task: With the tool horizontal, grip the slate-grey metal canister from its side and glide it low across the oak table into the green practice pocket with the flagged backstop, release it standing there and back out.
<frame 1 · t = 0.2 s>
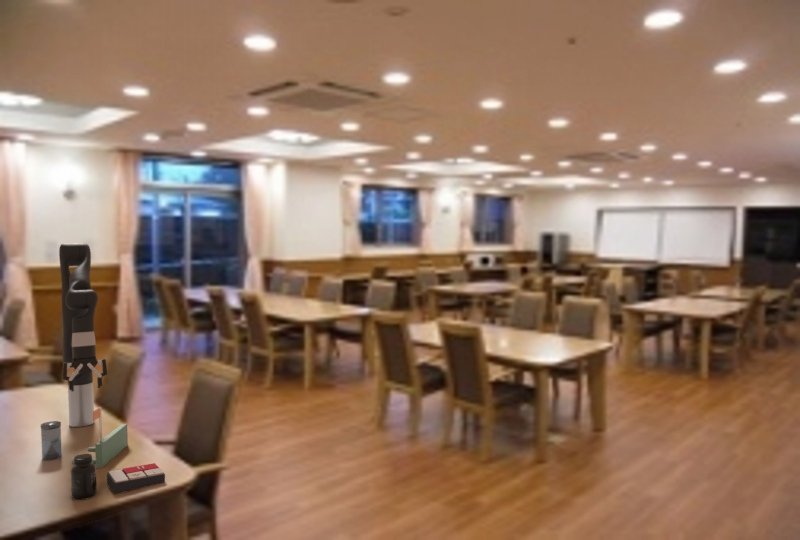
hand: (85, 389, 221), 22 cm above the table, tool pointing down, fingers open, 8 cm apart
supplement bottle: (84, 495, 184), on the table
slate canister: (52, 457, 215), on the table
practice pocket: (95, 456, 216), on the table
calculator: (136, 484, 193), on the table
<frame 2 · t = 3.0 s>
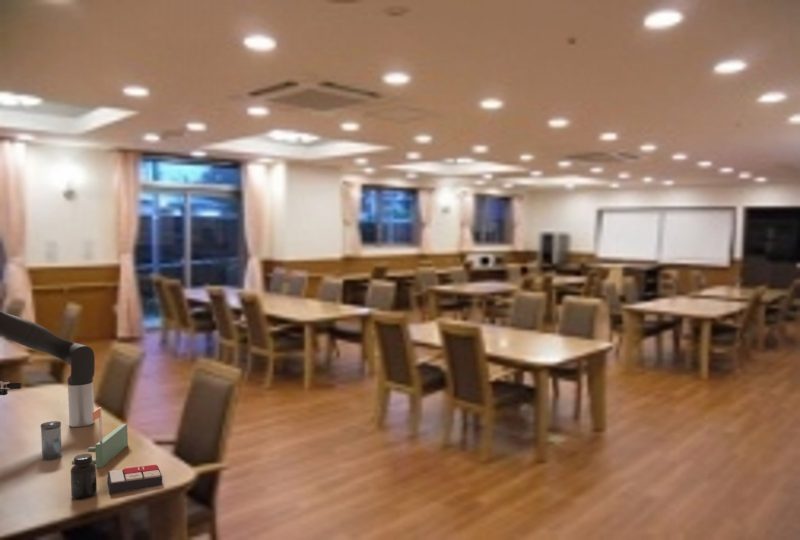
hand: (14, 388, 213), 25 cm above the table, tool horizontal, fingers open, 8 cm apart
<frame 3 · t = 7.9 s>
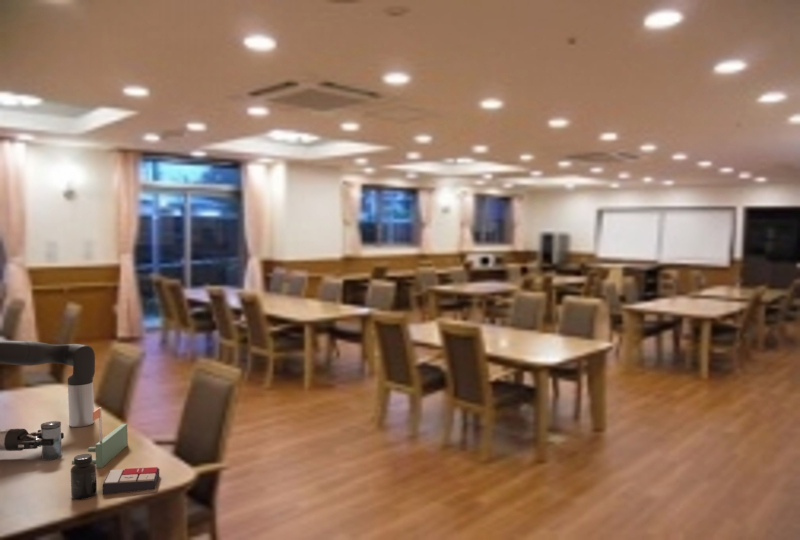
hand: (58, 438, 215), 7 cm above the table, tool horizontal, fingers closed on slate canister, 6 cm apart
slate canister: (52, 457, 215), on the table, touching gripper
calculator: (132, 486, 192), on the table
everything else where it was.
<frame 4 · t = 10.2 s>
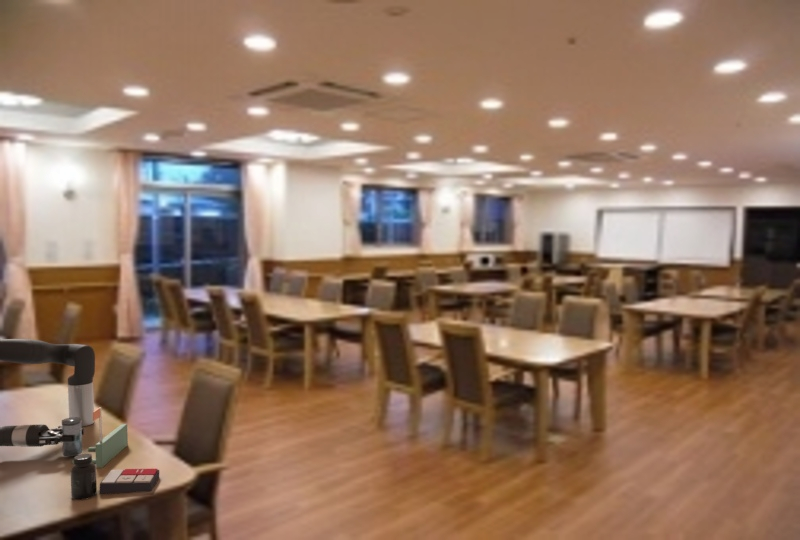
hand: (79, 434, 215), 8 cm above the table, tool horizontal, fingers closed on slate canister, 6 cm apart
slate canister: (72, 453, 216), point 1 cm above the table, touching gripper
when the fingers open (7 cm above the table, at t = 12.5 s): slate canister stays where it is, on the table.
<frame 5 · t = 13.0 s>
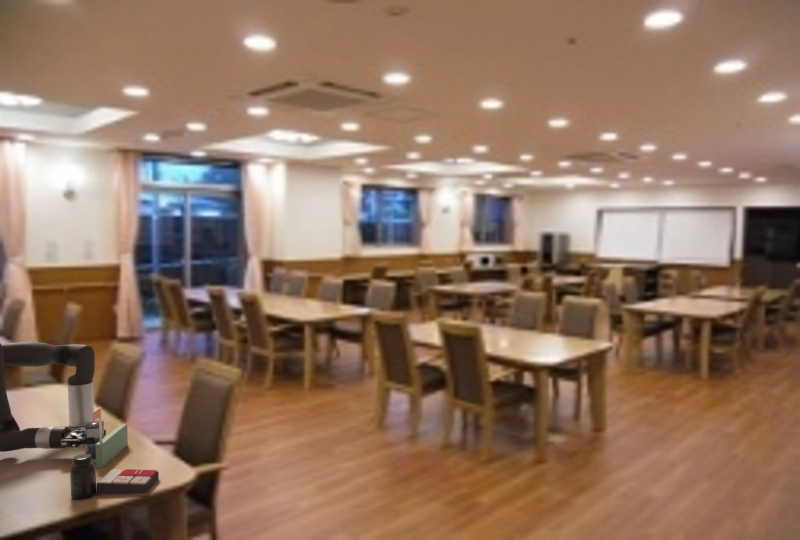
hand: (100, 436, 216), 7 cm above the table, tool horizontal, fingers open, 8 cm apart
slate canister: (95, 456, 216), on the table
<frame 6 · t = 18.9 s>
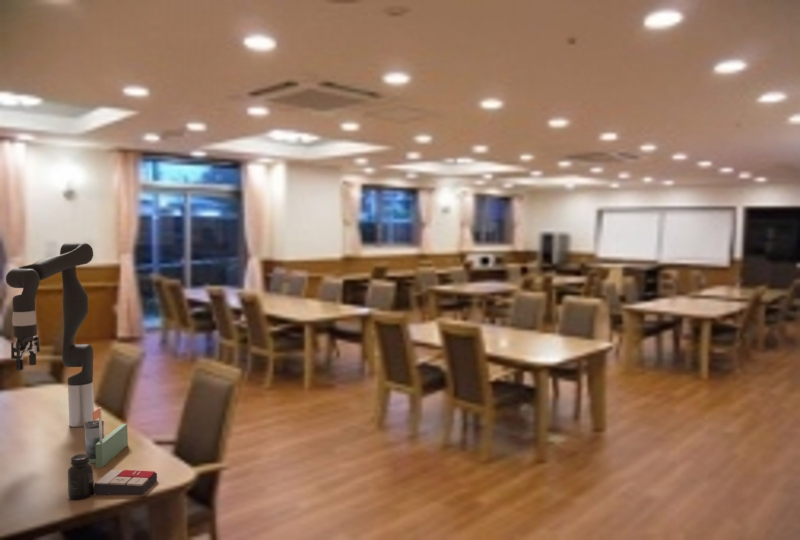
hand: (26, 367, 223), 30 cm above the table, tool pointing down, fingers open, 8 cm apart
at the end: slate canister inside the target area (0.6 cm from its centre), on the table; slate canister tilted 1°; the gripper is holding nothing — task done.
